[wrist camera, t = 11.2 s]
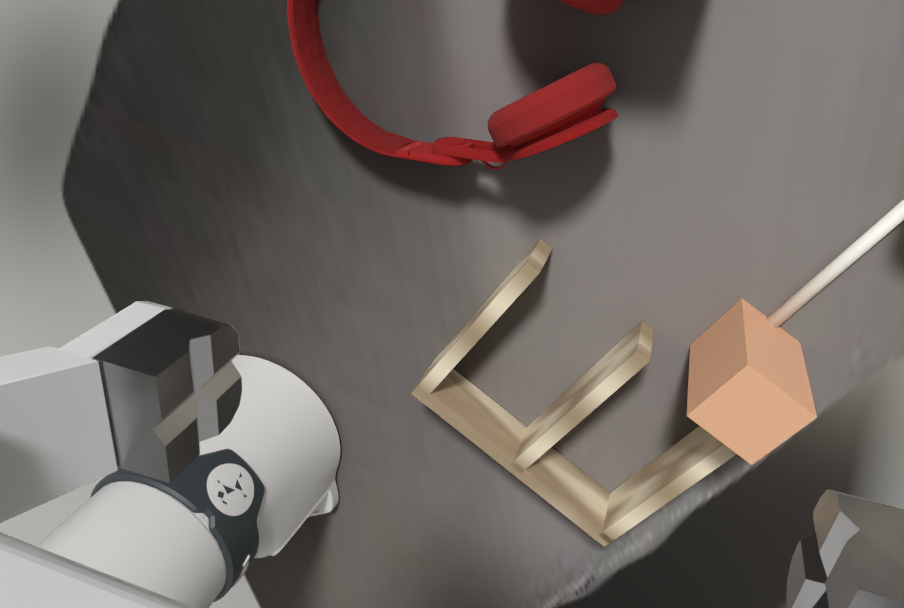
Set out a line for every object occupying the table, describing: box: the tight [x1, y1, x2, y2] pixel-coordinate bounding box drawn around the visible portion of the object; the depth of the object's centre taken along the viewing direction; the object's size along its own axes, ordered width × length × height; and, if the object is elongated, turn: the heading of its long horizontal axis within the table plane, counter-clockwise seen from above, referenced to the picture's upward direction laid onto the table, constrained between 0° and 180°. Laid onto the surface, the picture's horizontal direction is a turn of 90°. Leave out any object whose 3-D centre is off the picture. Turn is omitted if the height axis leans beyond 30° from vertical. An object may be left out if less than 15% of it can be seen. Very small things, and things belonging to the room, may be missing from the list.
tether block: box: [687, 199, 904, 465], centre depth 37 cm, size 18×4×8 cm, turn 147°
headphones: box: [287, 0, 624, 170], centre depth 39 cm, size 15×7×20 cm
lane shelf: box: [411, 239, 736, 547], centre depth 47 cm, size 14×18×4 cm
